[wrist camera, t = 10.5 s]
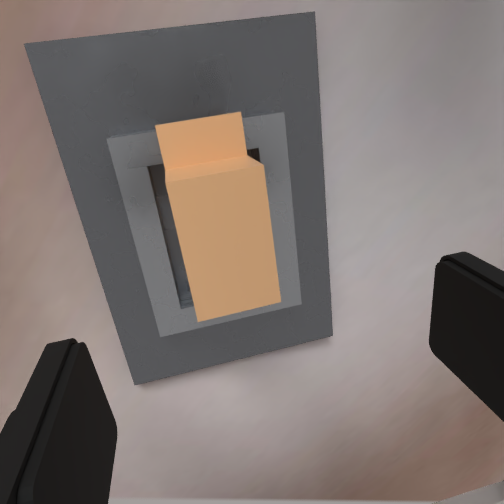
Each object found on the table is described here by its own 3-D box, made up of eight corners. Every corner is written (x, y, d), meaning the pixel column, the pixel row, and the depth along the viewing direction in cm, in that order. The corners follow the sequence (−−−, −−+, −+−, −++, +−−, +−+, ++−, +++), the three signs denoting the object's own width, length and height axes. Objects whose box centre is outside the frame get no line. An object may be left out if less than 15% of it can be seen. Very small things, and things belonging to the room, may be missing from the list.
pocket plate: (31, 46, 18) (7, 36, 15) (307, 15, 20) (330, 1, 17) (135, 375, 26) (132, 407, 23) (327, 328, 28) (345, 352, 25)
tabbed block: (156, 123, 19) (152, 129, 14) (231, 111, 20) (257, 112, 14) (196, 298, 23) (206, 357, 18) (257, 284, 24) (285, 336, 18)
